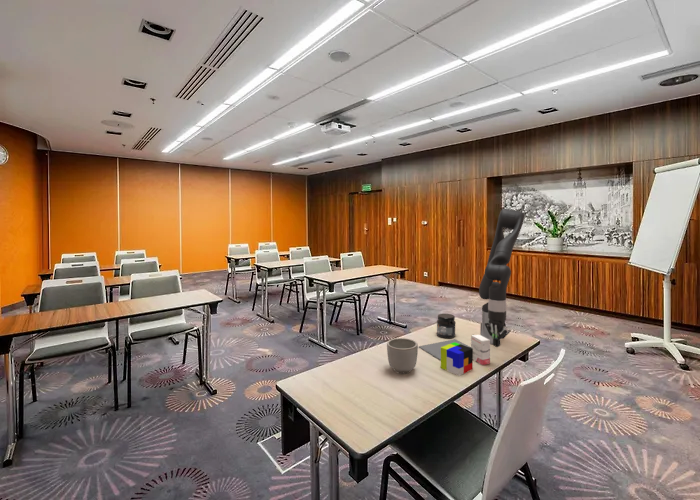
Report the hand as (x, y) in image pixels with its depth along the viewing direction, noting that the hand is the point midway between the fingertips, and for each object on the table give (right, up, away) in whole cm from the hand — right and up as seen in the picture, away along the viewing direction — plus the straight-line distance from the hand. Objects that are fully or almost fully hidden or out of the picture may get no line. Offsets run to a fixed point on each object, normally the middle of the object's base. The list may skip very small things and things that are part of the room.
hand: (496, 346), depth 155 cm
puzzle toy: (-17, -11, +3) cm, 21 cm away
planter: (-42, -12, +2) cm, 44 cm away
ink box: (-4, -10, +10) cm, 15 cm away
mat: (-14, -9, +23) cm, 29 cm away
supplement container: (-10, -7, +45) cm, 47 cm away
